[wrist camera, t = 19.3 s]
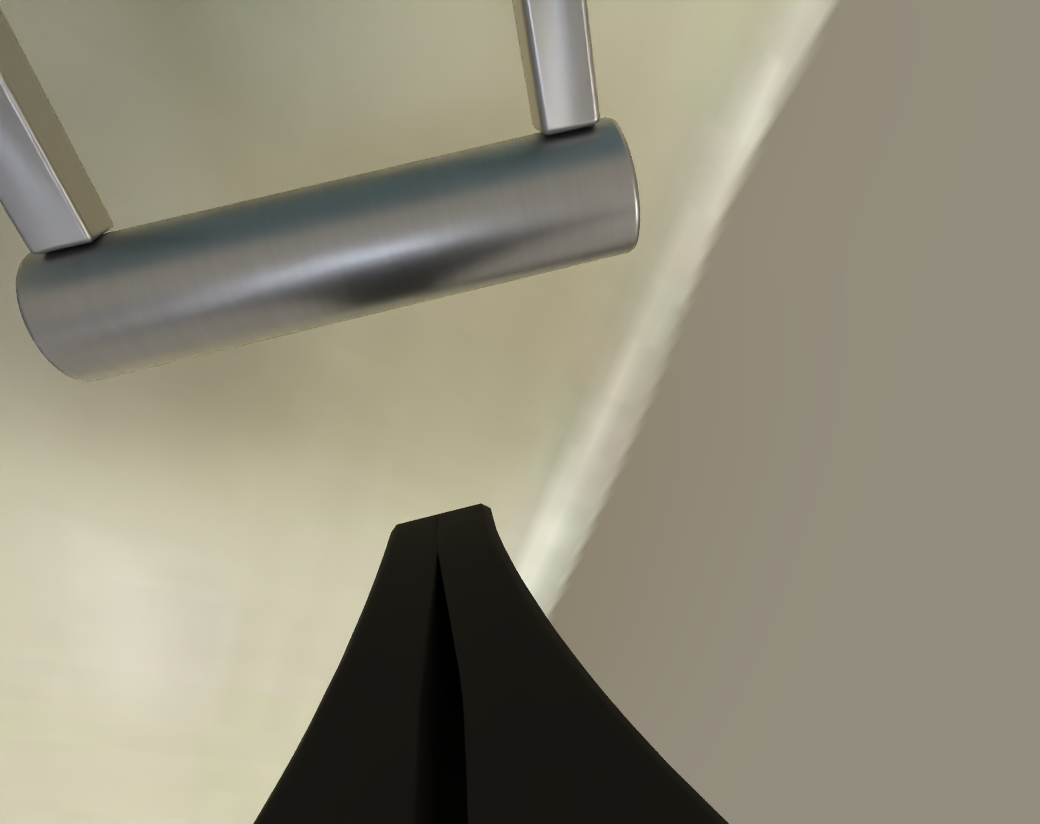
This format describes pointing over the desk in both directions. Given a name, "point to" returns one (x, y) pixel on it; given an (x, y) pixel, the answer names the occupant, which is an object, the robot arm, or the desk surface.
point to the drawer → (313, 224)
